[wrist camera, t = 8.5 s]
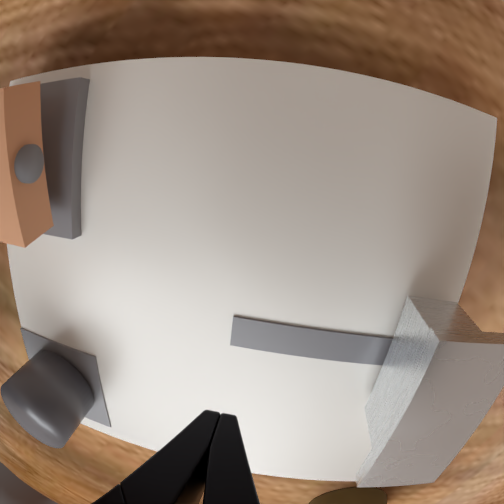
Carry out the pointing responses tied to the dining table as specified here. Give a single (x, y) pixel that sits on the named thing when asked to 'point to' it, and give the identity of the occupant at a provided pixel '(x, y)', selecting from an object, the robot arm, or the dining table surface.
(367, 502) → the olive pawn
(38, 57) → the dining table surface
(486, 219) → the dining table surface
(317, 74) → the panel
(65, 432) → the button
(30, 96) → the peach slab
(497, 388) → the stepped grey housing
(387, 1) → the dining table surface
